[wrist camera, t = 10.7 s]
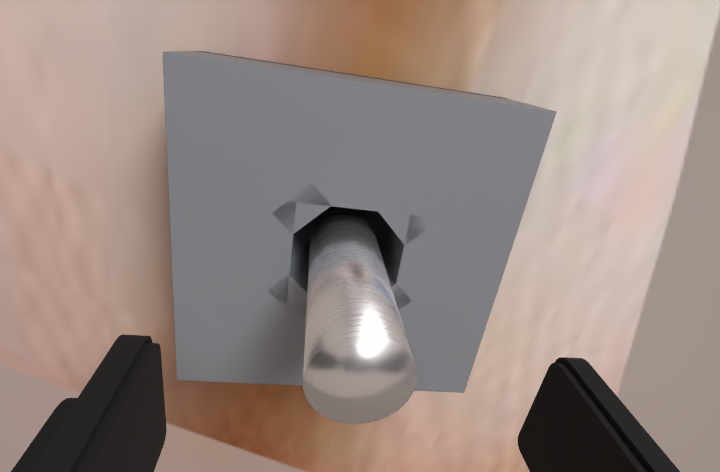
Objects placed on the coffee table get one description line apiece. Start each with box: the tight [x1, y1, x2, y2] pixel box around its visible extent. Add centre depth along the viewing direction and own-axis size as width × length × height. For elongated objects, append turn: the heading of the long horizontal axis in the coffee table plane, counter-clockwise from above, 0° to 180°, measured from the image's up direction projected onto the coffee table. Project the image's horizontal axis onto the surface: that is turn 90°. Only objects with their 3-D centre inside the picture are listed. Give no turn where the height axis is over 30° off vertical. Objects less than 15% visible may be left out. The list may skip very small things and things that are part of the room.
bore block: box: [163, 51, 556, 393], centre depth 19 cm, size 14×14×5 cm
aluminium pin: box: [303, 206, 417, 424], centre depth 16 cm, size 3×3×11 cm
